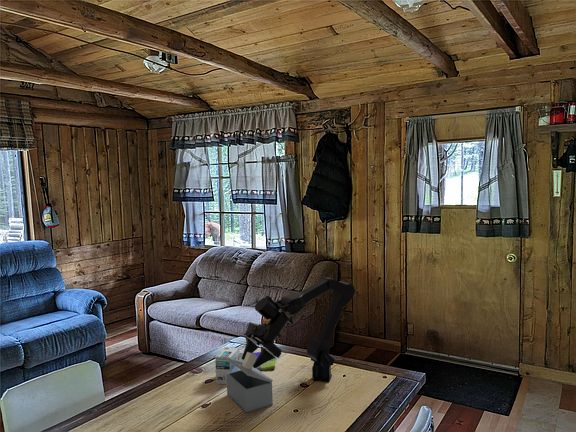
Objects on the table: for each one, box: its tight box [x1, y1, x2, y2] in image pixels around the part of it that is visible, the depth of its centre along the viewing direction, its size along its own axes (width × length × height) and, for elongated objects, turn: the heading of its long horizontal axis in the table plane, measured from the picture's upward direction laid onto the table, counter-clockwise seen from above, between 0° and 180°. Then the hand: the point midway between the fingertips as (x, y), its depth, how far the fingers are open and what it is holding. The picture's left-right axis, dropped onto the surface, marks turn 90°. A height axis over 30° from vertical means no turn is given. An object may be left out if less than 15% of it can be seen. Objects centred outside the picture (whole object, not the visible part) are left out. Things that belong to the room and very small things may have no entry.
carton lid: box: [228, 352, 274, 384], centre depth 161 cm, size 10×16×6 cm, turn 31°
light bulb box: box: [214, 346, 241, 385], centre depth 179 cm, size 11×7×11 cm, turn 169°
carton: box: [226, 370, 274, 414], centre depth 160 cm, size 10×16×8 cm, turn 31°
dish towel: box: [239, 351, 278, 372], centre depth 194 cm, size 18×24×3 cm
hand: (247, 363), depth 160 cm, fingers open, 9 cm apart
